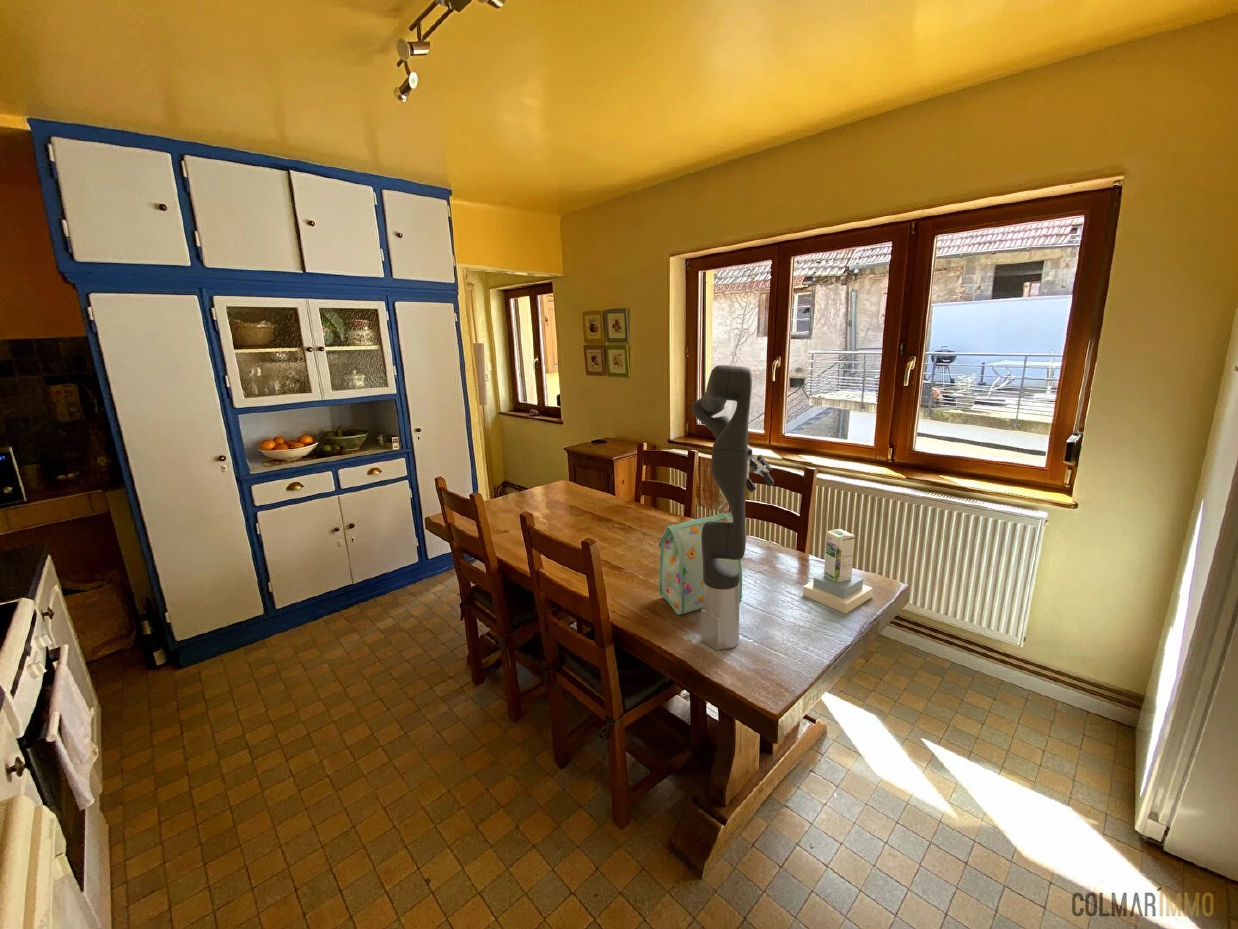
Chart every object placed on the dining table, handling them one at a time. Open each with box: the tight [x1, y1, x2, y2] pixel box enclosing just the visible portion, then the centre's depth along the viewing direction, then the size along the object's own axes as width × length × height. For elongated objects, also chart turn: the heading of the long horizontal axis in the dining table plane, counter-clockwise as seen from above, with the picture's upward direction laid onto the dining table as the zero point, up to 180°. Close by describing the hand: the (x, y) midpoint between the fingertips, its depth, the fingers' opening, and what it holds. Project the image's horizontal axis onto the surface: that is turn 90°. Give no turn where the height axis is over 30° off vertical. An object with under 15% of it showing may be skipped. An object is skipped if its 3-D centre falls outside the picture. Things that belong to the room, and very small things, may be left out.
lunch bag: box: [657, 512, 743, 616], centre depth 153 cm, size 23×16×27 cm
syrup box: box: [823, 528, 856, 583], centre depth 150 cm, size 6×6×14 cm
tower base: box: [802, 571, 873, 614], centre depth 152 cm, size 14×14×6 cm
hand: (763, 487), depth 155 cm, fingers open, 8 cm apart
